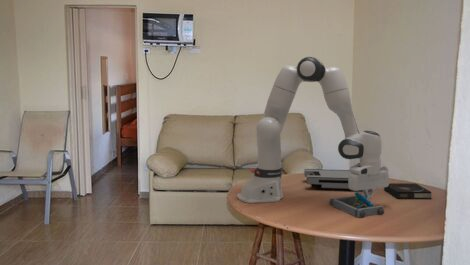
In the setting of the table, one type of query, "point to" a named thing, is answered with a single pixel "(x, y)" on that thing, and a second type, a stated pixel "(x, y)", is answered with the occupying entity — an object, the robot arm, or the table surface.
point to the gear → (362, 201)
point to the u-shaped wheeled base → (362, 212)
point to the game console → (328, 179)
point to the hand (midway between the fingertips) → (368, 198)
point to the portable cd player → (407, 191)
